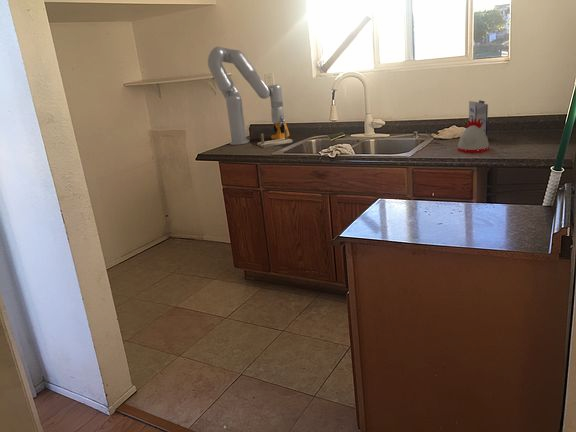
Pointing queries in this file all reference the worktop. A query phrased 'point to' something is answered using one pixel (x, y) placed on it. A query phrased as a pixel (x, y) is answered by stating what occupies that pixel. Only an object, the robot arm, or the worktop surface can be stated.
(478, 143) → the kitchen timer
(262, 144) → the tool rest
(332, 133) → the worktop surface
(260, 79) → the robot arm
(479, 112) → the milk carton
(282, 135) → the bracket
